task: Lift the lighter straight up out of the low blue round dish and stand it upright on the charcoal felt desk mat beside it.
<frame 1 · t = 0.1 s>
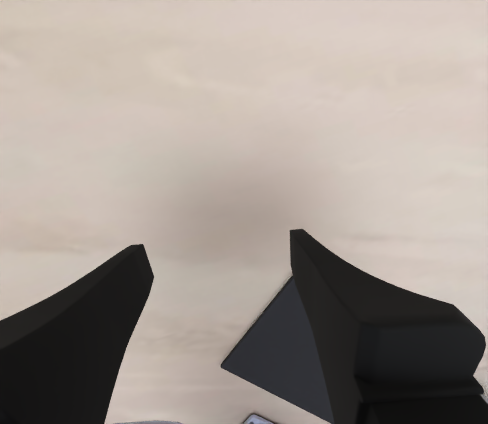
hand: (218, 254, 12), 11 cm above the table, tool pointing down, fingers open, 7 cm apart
desk mat: (335, 356, 27), on the table
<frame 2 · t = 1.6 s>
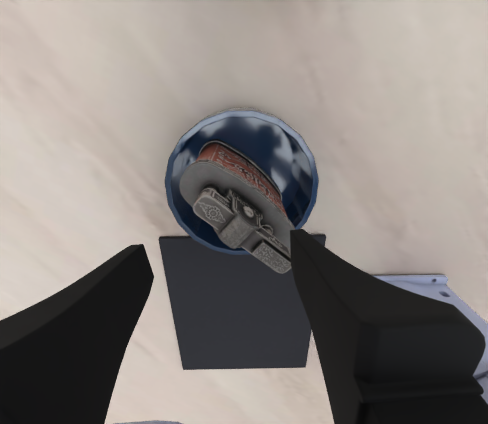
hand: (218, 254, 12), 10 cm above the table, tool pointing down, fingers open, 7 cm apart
desk mat: (243, 310, 28), on the table
blue round dish: (241, 175, 21), on the table
lighter: (241, 176, 21), resting on blue round dish
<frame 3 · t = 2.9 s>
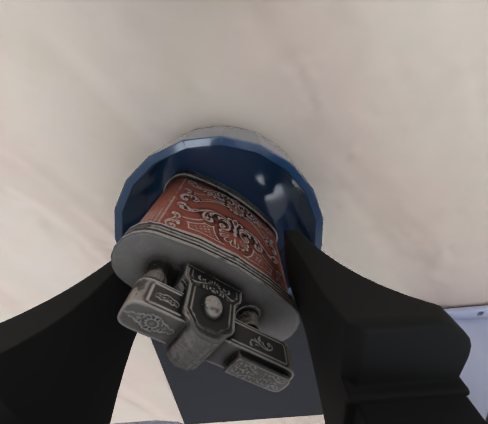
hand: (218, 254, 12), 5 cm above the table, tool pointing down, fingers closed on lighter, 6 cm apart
desk mat: (246, 359, 23), on the table
blue round dish: (224, 210, 17), on the table
lighter: (224, 211, 16), resting on blue round dish, touching gripper
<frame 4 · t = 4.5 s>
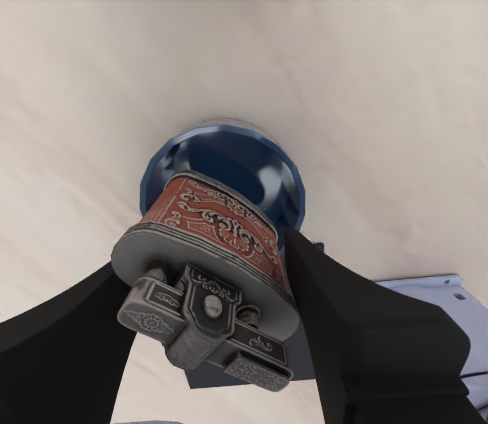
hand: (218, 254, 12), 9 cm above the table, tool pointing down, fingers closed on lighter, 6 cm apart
desk mat: (245, 326, 27), on the table
blue round dish: (226, 189, 20), on the table
lighter: (224, 211, 16), point 4 cm above the table, touching gripper
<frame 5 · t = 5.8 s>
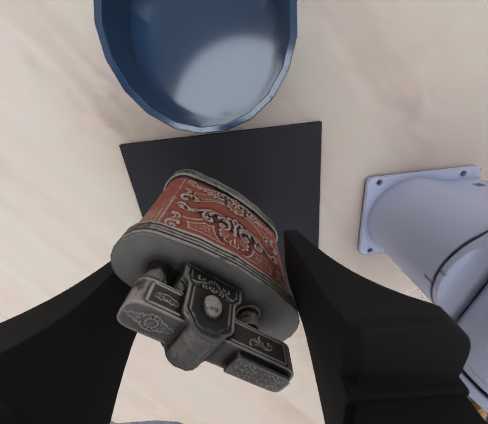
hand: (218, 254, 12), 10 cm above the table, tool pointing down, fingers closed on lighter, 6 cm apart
desk mat: (235, 239, 24), on the table
blue round dish: (206, 42, 17), on the table
lighter: (224, 210, 16), point 5 cm above the table, touching gripper
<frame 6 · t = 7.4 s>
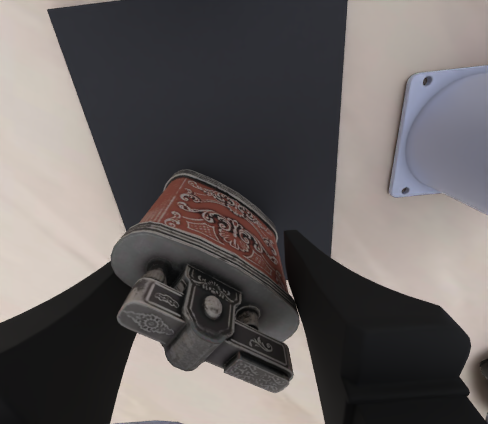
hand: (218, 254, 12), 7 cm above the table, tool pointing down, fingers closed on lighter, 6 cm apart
desk mat: (222, 173, 17), on the table
lighter: (224, 211, 16), point 2 cm above the table, touching gripper
when the fingers open (5 cm above the table, at t = 8.7 s): lighter stays where it is, resting on desk mat.
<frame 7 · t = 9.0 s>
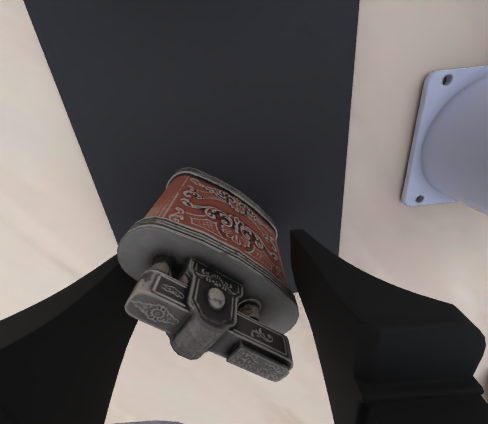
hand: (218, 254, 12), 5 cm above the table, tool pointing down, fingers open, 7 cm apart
desk mat: (220, 180, 16), on the table
lighter: (225, 208, 17), resting on desk mat
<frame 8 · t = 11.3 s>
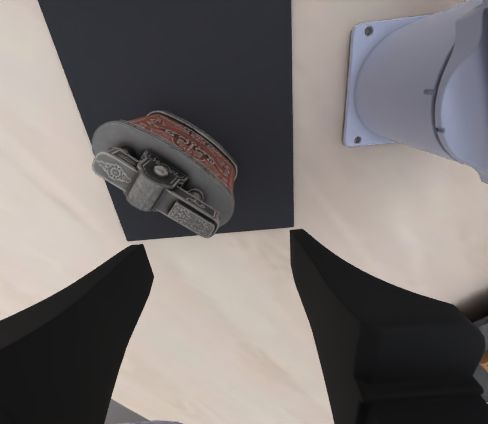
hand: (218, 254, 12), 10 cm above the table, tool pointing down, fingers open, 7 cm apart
desk mat: (189, 123, 19), on the table
lighter: (193, 149, 20), resting on desk mat
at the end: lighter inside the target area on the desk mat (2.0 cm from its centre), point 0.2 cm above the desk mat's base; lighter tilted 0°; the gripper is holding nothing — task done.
